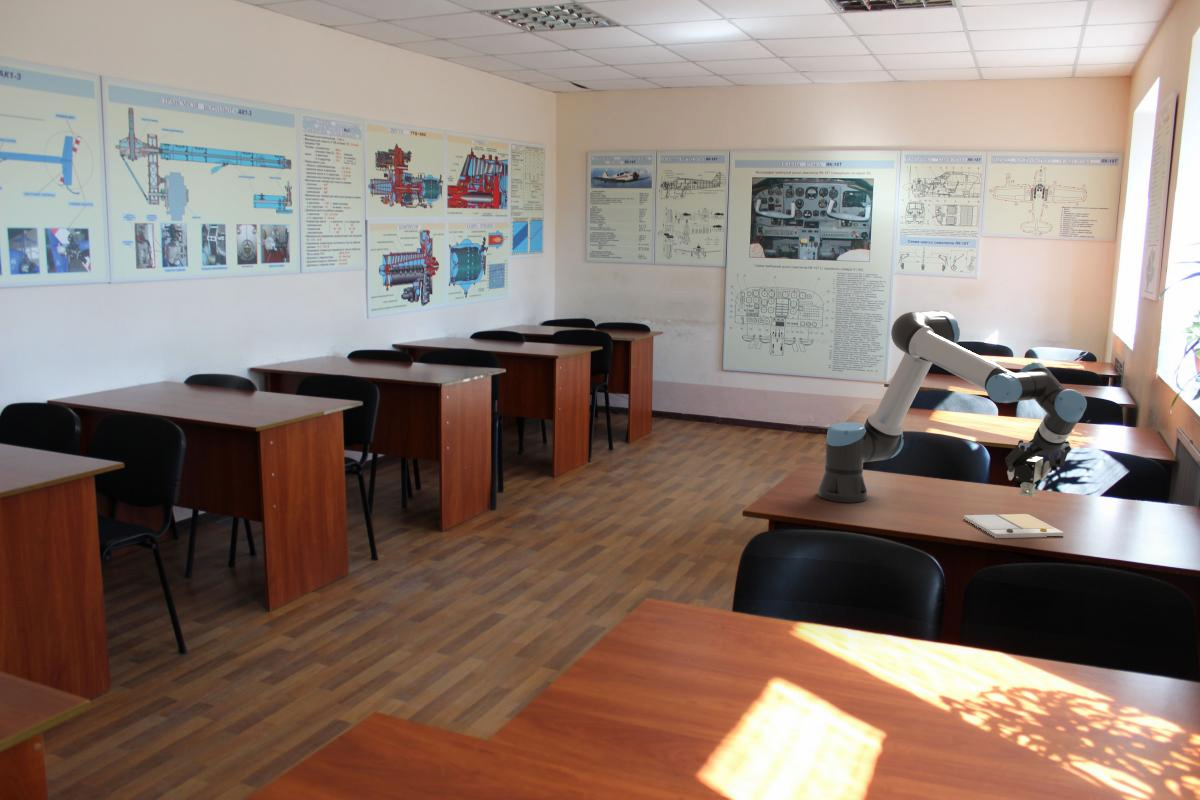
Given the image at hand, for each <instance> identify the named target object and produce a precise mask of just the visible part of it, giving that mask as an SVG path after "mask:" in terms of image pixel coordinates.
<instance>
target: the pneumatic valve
mask: <svg viewBox="0 0 1200 800" xmlns="http://www.w3.org/2000/svg"><path fill="white" fill-rule="evenodd" d="M1043 465H1044V456H1038V455H1037V456H1035V457H1031V458H1029V459H1028V460H1026V461H1025V462H1023V463H1022V464H1020V465H1019V466H1017V467H1015V469H1014V477H1013V478H1015V482H1021V484H1020V486H1019V487H1020V491H1019V495H1020V496H1021V497H1022V496H1024V497H1029V498H1033V497H1034V496H1035V495H1036V486H1037V484H1036V482H1037V481H1039V480H1040V479H1041V478H1042V469H1043Z"/></svg>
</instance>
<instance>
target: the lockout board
mask: <svg viewBox="0 0 1200 800" xmlns="http://www.w3.org/2000/svg"><path fill="white" fill-rule="evenodd" d="M964 519H965V520H964ZM963 520H964V521H966V520H967V521H968V523H969V522H970V523H969V524H971V523H972V524H974V525H975V527H976V526H977V527H976V528H978V527H979V528H981V529H982V530H981V529H980V530H981V531H983V530H984V531H986V532H987V534H988V533H989V534H990V536H991V535H992V536H991V537H993V536H994V537H993V538H994V539H1011V538H1012V539H1014V538H1015V539H1017V538H1048V537H1047V536H1063V537H1064V534H1065V533H1064V531H1062V530H1060V529H1058V528H1056V527H1054V526H1052V525H1050V524H1048V523H1046V522H1045V521H1042V520H1041V519H1038V518H1037V517H1034V516H1033V515H1030V514H1028V513H1012V514H1011V513H1010V514H1008V513H1007V514H1006V513H1005V514H1004V513H1003V514H1002V513H1001V514H965V515H963ZM967 521H966V522H967ZM972 524H971V525H972ZM974 525H973V526H974ZM979 528H978V529H979ZM984 531H983V532H984ZM986 532H985V533H986ZM989 534H988V535H989Z"/></svg>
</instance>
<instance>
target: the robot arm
mask: <svg viewBox="0 0 1200 800" xmlns="http://www.w3.org/2000/svg"><path fill="white" fill-rule="evenodd" d="M890 330H891V331H890V334H891V339H892V342H893V344H894V345H895V346H896V348H898V349H899V350H900V351H902V352H903V353H904V354H903V356H902V358H901V360H900V362H899V364H898V366H897V368H896V371H895V372H894V375H893V377H892V378H891V381H890V382H889V384H888V386H887V388H886V391H885V393H884V395H883V397H882V399H881V401H880V403H879V405H878V406H877V409H876V411H875V412H872V413H870V414H868V416H867V418H866V420H865V422H864V424H863V423H861V422H856V421H848V422H846V421H845V422H844V421H843V422H837V423H834V424H832V425H831V426H829V427H828V428H827V432H826V433H827V434H826V438H825V441H826V442H825V462H824V463H825V465H824V472H823V476H822V478H821V481H820V483H819V486H818V489H817V490H818V491H817V496H818V497H819V498H822V499H823V500H826V501H831V502H837V503H850V504H851V503H861V502H864V501H866V500H867V499H868V489H867V487H866V483H865V478H864V474H863V469H864V463H868V462H870V463H871V462H878V461H885V460H888V459H893V458H894V457H896V456H897V455H898V454H899V453H900V452H901V451H902V449H903V446H904V441H905V439H903V438H904V433H903V431H904V428H903V426H902V423H903V421H904V419H905V417H906V415H907V413H908V411H909V410H910V407H911V405H912V404H913V401H914V400H915V398H916V396H917V394H918V392H919V390H920V388H921V386H922V384H923V382H924V380H925V379H926V376H927V374H928V373H929V370H930V368H931V367H932V365H936V366H938V367H939V368H942V369H944V370H945V371H947V372H948V373H951V374H952V375H955V376H956V377H959V378H961V379H962V380H964V381H966V382H967V383H970V384H972V385H974V386H976V387H978V388H980V389H981V390H984V391H985V392H986V394H987V395H988V397H989V398H990V399H991V400H992V401H993V402H995V403H1000V404H1001V403H1003V404H1010V403H1016V402H1022V401H1031V400H1032V401H1033V400H1034V401H1035V403H1037V404H1038V406H1039V407H1040V408H1041V409H1043V411H1044V412H1045V413H1046V414H1045V416H1044V418H1043V419H1042V421H1041V422H1040V424H1039V426H1038V428H1037V429H1036V431H1035V432H1034V435H1033V438H1032V439H1031V440H1029V441H1027V442H1024V440H1022V439H1021V440H1019V441H1017V445H1016V446H1015V447H1014V448H1013V449H1012V450H1011V451H1010V452H1009V453H1008V455H1006V456H1005V457H1004V458H1005V464H1006V466H1007V471H1006V473H1007V477H1008V478H1007V479H1008V481H1012V480H1013V478H1015V477H1014V469H1015V467H1017V466H1019V465H1020V464H1022V463H1023V462H1025V461H1026V460H1028V459H1029V458H1031V457H1035V456H1038V455H1048V458H1049V459H1048V460H1046V461H1045V462H1044V463H1043V469H1042V478H1041V479H1039V480H1040V482H1044V481H1045V479H1046V478H1047V476H1048V475H1049V474H1051V473H1052V472H1055V471H1057V470H1058V469H1057V467H1058V468H1063V467H1064V465H1065V464H1066V463H1065V462H1066V460H1067V456H1068V453H1069V452H1070V451H1071V450H1072V447H1071V444H1070V441H1069V440H1067V439H1068V437H1069V436H1070V435H1071V433H1072V431H1073V430H1074V428H1075V427H1076V425H1077V424H1078V422H1079V421H1080V420H1081V419H1082V417H1084V414H1085V413H1084V412H1086V409H1087V408H1088V407H1087V405H1088V402H1087V399H1086V397H1085V396H1084V395H1083V394H1082V393H1081V392H1079V391H1077V390H1075V389H1069V388H1067V389H1066V388H1065V387H1064V385H1062V384H1061V382H1060V381H1058V379H1057V378H1056V377H1055V376H1054V375H1053V374H1052V372H1051V371H1050V369H1048V368H1047V367H1046V366H1045V365H1043V363H1042V362H1040V361H1034V362H1031V363H1028V364H1027V365H1025V366H1023V367H1022V368H1021V369H1020V371H1019V372H1014V371H1011V370H1009V369H1007V368H1004V367H1003V366H1001V365H999V364H997V363H995V362H994V361H991V360H989V359H987V358H985V357H983V356H981V355H979V354H977V353H975V352H972V351H971V350H968V349H966V348H964V347H962V346H960V345H959V344H958V342H959V341H960V340H959V339H960V334H961V330H960V327H959V322H958V321H957V320H956V317H954V315H952V314H951V313H949V312H947V311H939V310H933V311H910V312H905V313H903V314H901V315H900V316H899V317H897V318H896V320H895V321H893V324H892V327H891V329H890ZM1056 451H1058V455H1057V458H1055V454H1054V452H1056Z"/></svg>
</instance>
